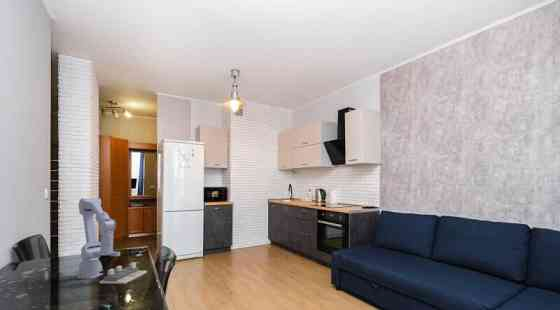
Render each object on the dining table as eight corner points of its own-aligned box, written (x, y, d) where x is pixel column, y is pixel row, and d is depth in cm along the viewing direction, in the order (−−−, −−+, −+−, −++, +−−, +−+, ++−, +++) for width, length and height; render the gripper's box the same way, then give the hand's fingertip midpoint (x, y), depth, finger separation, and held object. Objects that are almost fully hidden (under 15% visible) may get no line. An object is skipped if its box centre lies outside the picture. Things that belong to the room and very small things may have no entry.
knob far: (129, 268, 156) (130, 264, 156) (133, 267, 159) (133, 262, 159) (132, 268, 156) (132, 264, 156) (135, 267, 158) (135, 262, 159)
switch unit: (99, 283, 142) (99, 277, 143) (124, 272, 161) (124, 266, 161) (124, 283, 141) (125, 277, 141) (146, 272, 160) (147, 266, 160)
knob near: (107, 275, 145) (107, 270, 145) (111, 273, 147) (111, 268, 148) (110, 275, 144) (110, 270, 145) (114, 273, 147) (114, 268, 147)
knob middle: (115, 271, 150) (115, 267, 151) (119, 270, 153) (119, 265, 154) (118, 271, 150) (118, 267, 151) (121, 270, 153) (122, 265, 153)
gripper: (88, 245, 145) (86, 272, 143) (114, 245, 143) (112, 272, 142) (98, 242, 152) (97, 268, 150) (123, 242, 150) (122, 268, 149)
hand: (105, 270), depth 146 cm, fingers closed
